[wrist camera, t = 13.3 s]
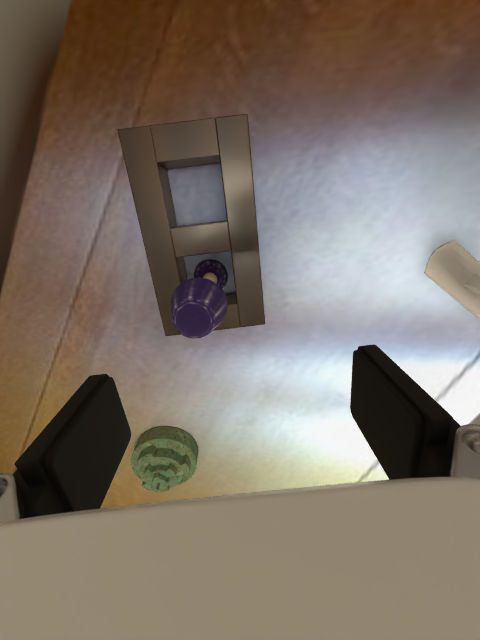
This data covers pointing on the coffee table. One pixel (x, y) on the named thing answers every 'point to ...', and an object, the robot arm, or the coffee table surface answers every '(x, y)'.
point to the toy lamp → (200, 300)
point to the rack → (178, 241)
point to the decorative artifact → (164, 458)
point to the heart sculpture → (457, 274)
